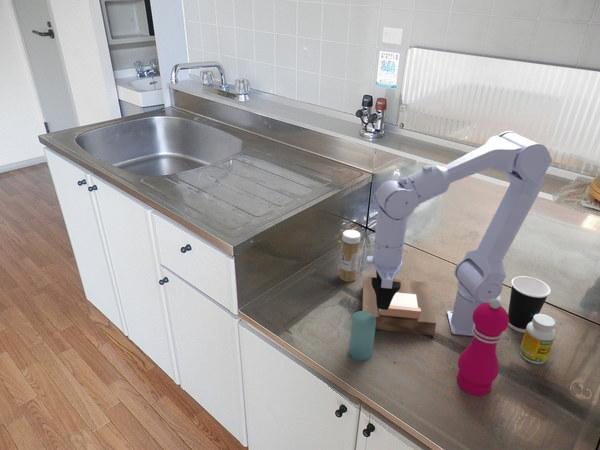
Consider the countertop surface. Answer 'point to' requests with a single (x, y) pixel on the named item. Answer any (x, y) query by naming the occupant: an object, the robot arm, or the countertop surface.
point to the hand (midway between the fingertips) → (382, 297)
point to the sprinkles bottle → (349, 255)
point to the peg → (362, 335)
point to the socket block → (402, 323)
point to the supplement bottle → (538, 339)
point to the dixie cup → (526, 301)
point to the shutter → (403, 306)
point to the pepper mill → (482, 349)
